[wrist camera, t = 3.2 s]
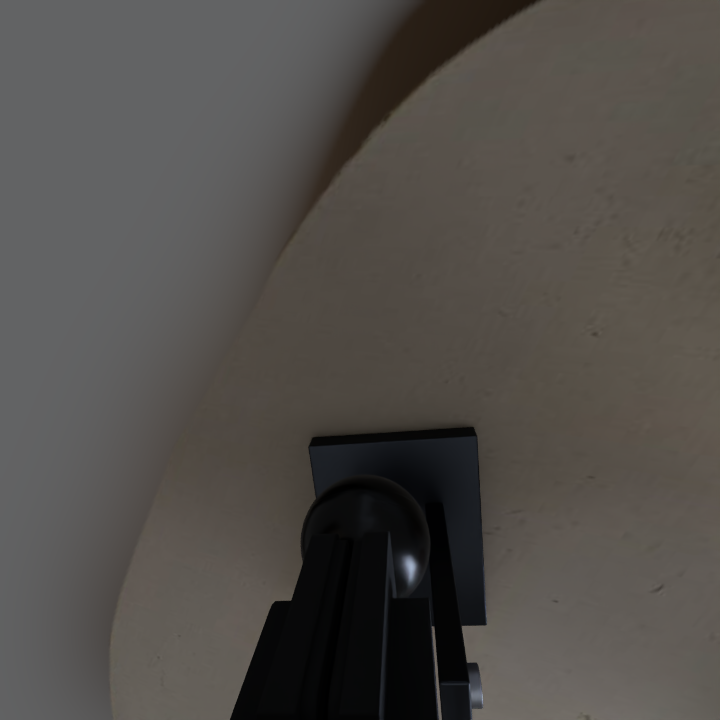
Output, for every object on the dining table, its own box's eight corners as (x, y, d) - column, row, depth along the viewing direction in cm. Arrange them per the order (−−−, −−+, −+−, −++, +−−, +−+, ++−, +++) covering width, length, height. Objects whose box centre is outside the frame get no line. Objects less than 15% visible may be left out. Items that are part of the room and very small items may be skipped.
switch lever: (298, 452, 12) (275, 572, 9) (422, 444, 12) (433, 568, 9) (363, 653, 20) (360, 748, 17) (439, 652, 20) (447, 750, 17)
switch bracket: (312, 437, 26) (242, 590, 15) (474, 426, 25) (531, 582, 14) (337, 612, 29) (295, 852, 18) (483, 610, 28) (537, 862, 17)
